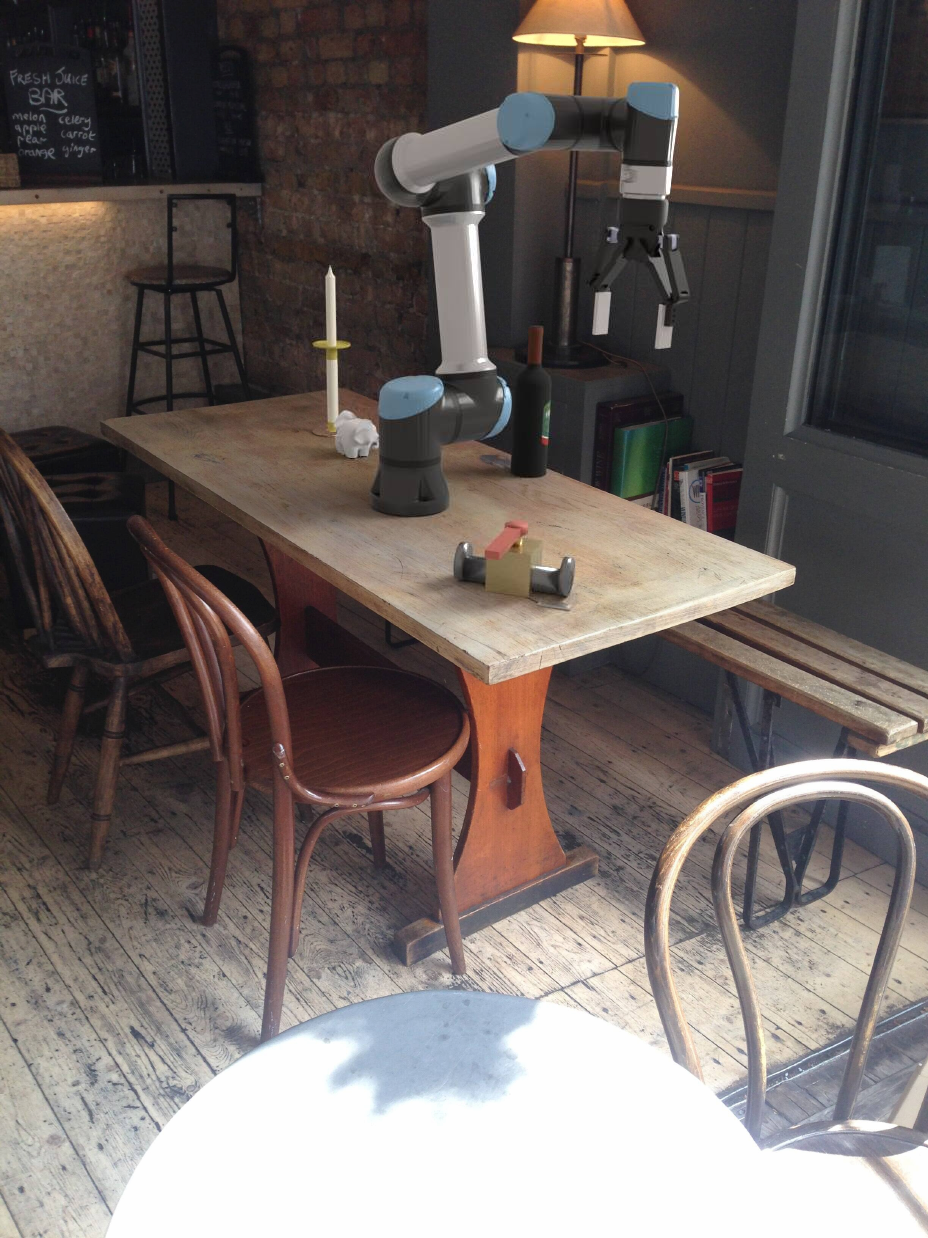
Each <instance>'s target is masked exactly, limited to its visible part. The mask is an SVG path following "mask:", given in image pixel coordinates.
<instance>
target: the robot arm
mask: <svg viewBox="0 0 928 1238" xmlns="http://www.w3.org/2000/svg"><path fill="white" fill-rule="evenodd" d="M679 99H680V91H679V87H678V86H677V84H675V83H673V82H664V81H663V82H661V81H633V82H630V84H629V85H628V87H627V93H626V96H625V97H624V96H623V97H615V96H614V97H613V96H609V97H608V96H596V95H595V96H592V95H591V96H590V95H574V94H573V95H571V94H558V93H557V94H556V93H545V92H544V93H543V92H536V91H533V90H532V91H524V92H513V93H511V94H509V95H507V96H506V97H505V99H504V101H503V102H502V103H500V106H499V107H497V108H494V109H490V110H488V111H486V112H485V111H484V112H483V113H480V114H477V115H475V116H472V117H469V118H466V119H463V120H460V121H458V122H455V123H452V124H449V125H446V126H444V127H441V128H438V129H435V130H432V131H431V132H430V131H429V132H427V133H424V134H421V133H419V132H408V133H405V134H401V135H400V136H395V137H394V138H391V139H388V140H387V142H385V143H384V144H383V145H382V147H381V148H380V149H379V150H378V153H377V155H376V157H375V163H374V177H375V180H376V181H375V182H376V183H377V186H378V188H379V190H380V192H381V193H383V195H384V197H386V198H387V199H388V200H390V201H391V202H392V203H394V204H396V205H399V206H403V207H408V208H420V211H421V220H422V222H424V223H425V225H427V227H429V228H430V230H431V244H432V253H433V255H432V256H433V265H434V277H435V289H436V290H435V291H436V301H437V302H436V303H437V311H438V312H437V314H438V315H437V316H438V324H439V335H440V348H441V364H440V365H439V366H438V368H437V369H436V370H435V376H432V375H426V374H425V375H423V374H422V375H420V374H419V375H414V376H413V375H408V376H403V377H399V378H395V379H392V380H390V381H388V382H386V383H385V384H383V386H382V387H381V389H380V391H379V397H378V398H379V400H378V406H377V413H378V435H379V447H378V466H377V469H376V472H375V475H374V478H373V480H372V481H373V482H372V484H371V488H370V491H369V505H370V507H371V508H373V509H374V510H376V511H378V512H381V513H385V514H387V515H388V514H389V515H394V516H403V517H407V516H408V517H412V516H413V517H414V516H416V517H418V516H427V515H433V514H437V513H441V512H443V511H445V510H447V508H450V507H449V506H450V496H451V495H450V491H449V487H448V483H447V481H446V477H445V475H444V471H443V467H442V447H443V446H448V445H455V444H459V443H464V442H466V443H467V442H471V441H482V440H484V439H487V438H491V437H494V436H497V435H498V434H500V432H502V431H503V430H504V428H505V426H507V424H508V423H509V419H510V418H511V412H512V393H511V390H510V388H509V387H508V386H507V382H506V380H505V379H503V377H501V376H498V374H497V373H498V372H497V366H496V365H495V364H494V363H492V362H491V360H490V359H489V358H488V348H487V347H488V345H487V333H486V320H485V319H486V318H485V305H484V292H483V290H484V289H483V278H482V266H481V265H482V264H481V253H480V239H479V223H480V222H481V220H482V219H483V218H484V217H485V215H486V209H485V205H487V204H488V203H489V202H490V201H491V200H492V198H493V196H494V192H493V191H495V190H496V185H497V172H496V167H495V165H496V164H497V165H498V164H499V163H503V162H507V161H510V160H512V159H515V158H520V157H523V156H527V155H530V154H533V153H537V152H541V151H575V152H576V151H580V152H581V151H582V152H612V153H614V152H617V153H622V154H621V163H620V164H621V167H620V178H619V179H620V180H619V191H618V192H619V193H620V194H622V197H619V199H618V200H617V210H616V211H617V212H616V222H617V223H618V224H619V227H618V226H607V227H606V226H605V227H603V228H602V234H601V238H600V239H601V241H600V243H599V246H598V248H597V250H596V252H595V254H594V258H593V259H592V261H591V264H590V266H589V269H588V271H587V273H586V276H585V278H584V281H583V284H584V286H585V287H589V288H590V289H591V291H592V304H591V310H592V312H593V321H592V322H593V324H592V335H594V336H596V335H607V334H608V333H609V332H608V329H609V319H610V310H611V309H610V307H611V298H612V297H611V296H612V292H611V291H610V290H611V289H610V286H611V285H612V283H613V282H614V280H616V278H617V277H618V275H619V274H620V272H621V271H622V270H623V269H624V267H625V266H626V264H627V263H628V262H636V263H638V264H641V263H643V265H644V266H645V267H647V269H648V270H649V273H650V275H651V277H652V279H653V281H654V284H655V285H656V288H657V290H658V292H659V295H660V296H661V299H662V302H661V303H660V304H658V311H657V312H658V315H657V323H656V324H657V325H656V334H655V342H654V349H656V350H657V349H658V350H660V349H668V348H671V346H672V335H673V327H675V326H676V325H677V318H678V312H679V310H678V308H679V305H680V304H681V303H685V302H688V301H690V300H691V293H690V288H689V284H688V279H687V276H686V273H685V268H684V263H683V260H682V255H681V252H680V251H681V250H680V244H681V243H680V241H681V239H680V238H681V237H680V235H679V233H672V234H671V233H670V234H664V226H665V225H666V224H667V222H668V213H669V201H668V198H667V199H666V196H669V195H670V193H671V183H672V175H673V174H672V173H673V161H674V160H673V157H674V150H675V141H676V135H677V127H678V119H679V116H680V115H679V103H680V101H679ZM617 244H618V246H617ZM661 249H662V250H661Z"/></svg>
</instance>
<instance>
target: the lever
mask: <svg viewBox="0 0 928 1238" xmlns="http://www.w3.org/2000/svg"><path fill="white" fill-rule="evenodd" d="M528 533H529V524H528V523H527V522H524V521H519V520H512V521H511V520H510V521H506V522H505V523H504V529H503V530H502V531H501V532H500V533H499V534H498V536H496V538H494V540H493V541H491V543H490V544H489V545H488V546H487V547H486V548H485V549H484V556H483V557H484V558H488V559H495V560H499V559H500V558H501V557H502V556H503V555H504V554H505V553H506V552H507V551H508V549H509V548H510V547H511V546H512V545H513V544H514V543H515V542H516V540H517V539H518V538H519V537H520V536H522V537H523V536H526V535H528Z"/></svg>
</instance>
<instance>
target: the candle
mask: <svg viewBox="0 0 928 1238" xmlns="http://www.w3.org/2000/svg"><path fill="white" fill-rule="evenodd" d="M325 309H326V310H325V312H326V313H325V317H326V319H325V320H326V321H325V322H326V340H317V341H314V342H312V345H313V347H314V348H317V349H325V351H326V353H325V357H326V359H325V360H326V397H327V398H326V403H327V404H326V405H327V407H326V408H327V426H328V429H327V431H330V432H336V430H335V427H334V423H335V421H336V419H337V417H338V416H339V385H338V384H339V383H338V382H339V381H338V373H339V372H338V349H346V348H349V347H351V342H349V341H345V340H337V320H336V319H337V318H336V317H337V312H336V311H337V307H336V276H335V275H334V273H333V270H332V267H331V266H329V267H328V272H327V274H326V275H325Z"/></svg>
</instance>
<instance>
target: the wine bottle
mask: <svg viewBox="0 0 928 1238" xmlns="http://www.w3.org/2000/svg"><path fill="white" fill-rule="evenodd" d="M528 328H529V329H528V349H527V364H526V367H525V368H524V369H523V370H521V371H520V372H518V374H517V375H516V377H515V380H514V388H513V389H514V391H513V411H512V412H513V414H512V430H511V433H512V434H511V450H510V451H511V453H510V454H511V455H510V474H511V475H513V476H516V477H520V478H531V479H532V478H533V479H534V478H540V477H545V476H546V474H547V464H548V452H549V451H548V448H549V447H548V446H549V435H550V434H549V433H550V432H549V431H550V415H551V401H552V398H551V397H552V385H553V384H552V378H551V376H550V375H549V374H548V373H547V372H546V370H544V368H543V366H542V353H543V336H544V326H542V325H530V326H529V327H528Z"/></svg>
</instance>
